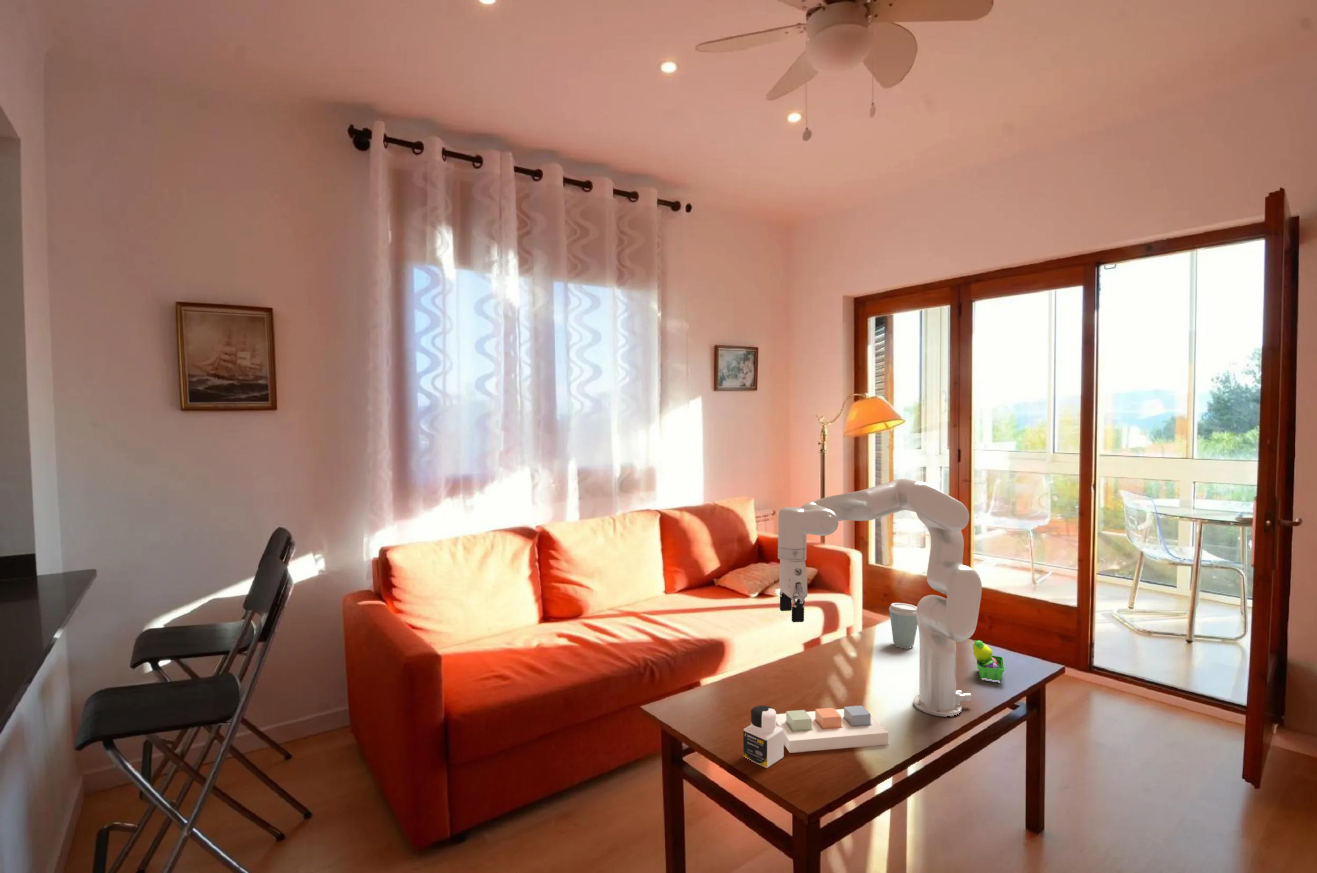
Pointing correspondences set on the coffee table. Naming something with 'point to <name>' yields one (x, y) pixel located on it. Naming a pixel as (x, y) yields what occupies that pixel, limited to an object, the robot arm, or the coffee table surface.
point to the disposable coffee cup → (903, 624)
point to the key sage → (798, 720)
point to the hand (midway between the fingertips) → (791, 616)
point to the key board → (831, 735)
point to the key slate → (857, 716)
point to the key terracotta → (828, 718)
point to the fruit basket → (988, 662)
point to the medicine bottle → (763, 737)
